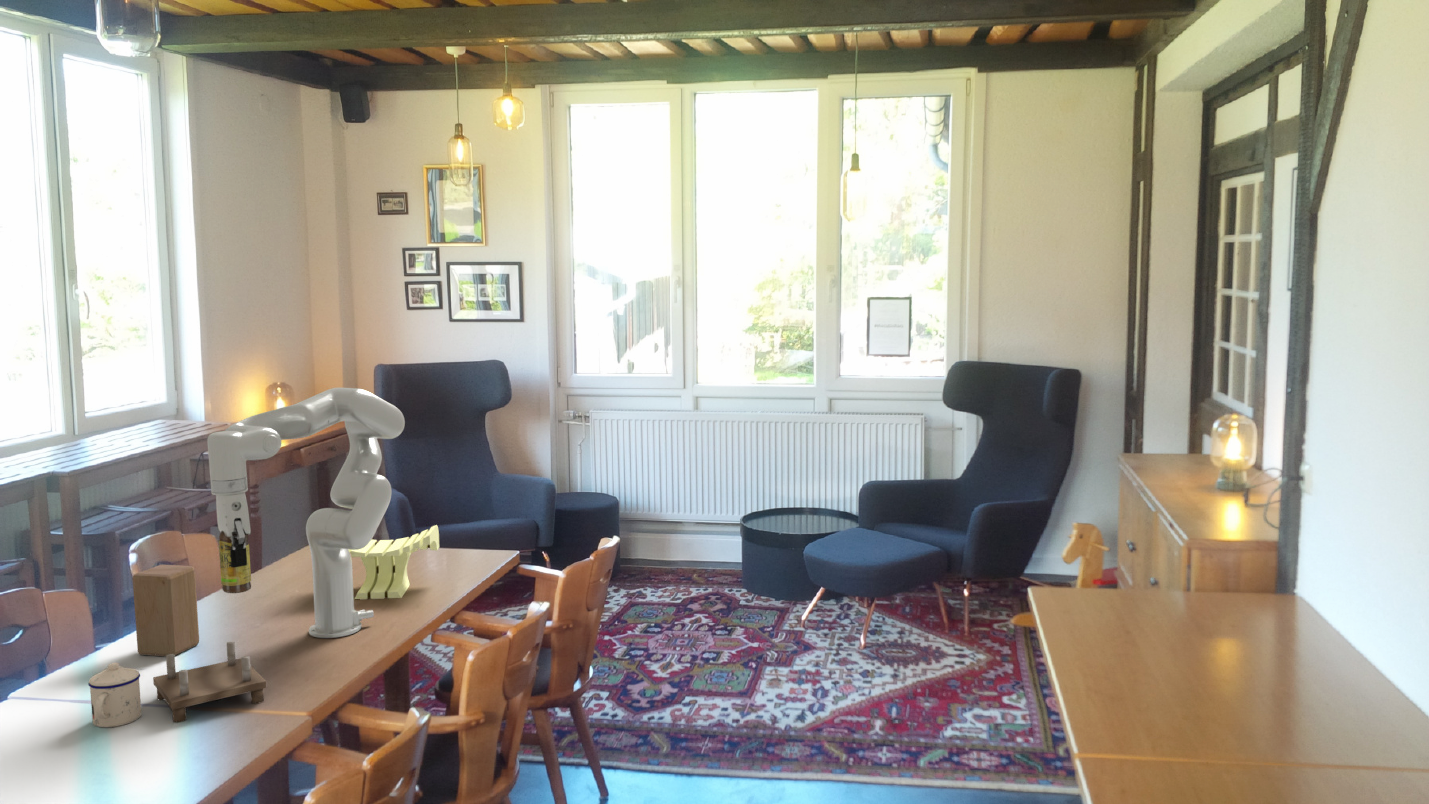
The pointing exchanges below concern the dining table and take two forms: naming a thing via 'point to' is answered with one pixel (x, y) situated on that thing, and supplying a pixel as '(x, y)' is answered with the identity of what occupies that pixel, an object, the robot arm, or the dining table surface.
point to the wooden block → (165, 610)
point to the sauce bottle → (237, 576)
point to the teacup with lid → (115, 696)
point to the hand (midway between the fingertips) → (235, 562)
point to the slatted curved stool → (391, 563)
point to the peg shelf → (208, 683)
